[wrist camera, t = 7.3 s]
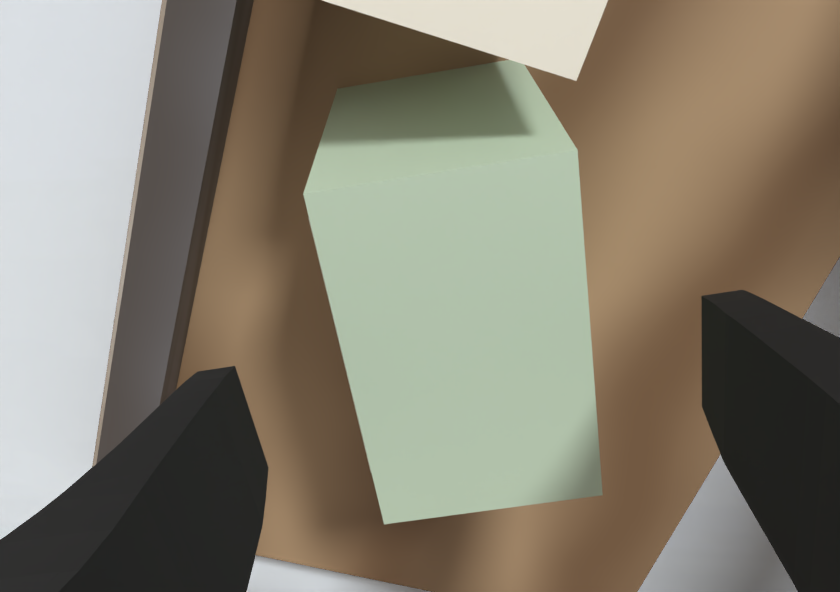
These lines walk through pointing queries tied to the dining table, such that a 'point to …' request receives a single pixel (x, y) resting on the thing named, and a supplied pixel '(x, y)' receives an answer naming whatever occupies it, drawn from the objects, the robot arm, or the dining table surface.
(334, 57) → the shelf board
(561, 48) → the cream carton
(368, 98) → the sage carton
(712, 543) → the dining table surface
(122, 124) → the dining table surface
